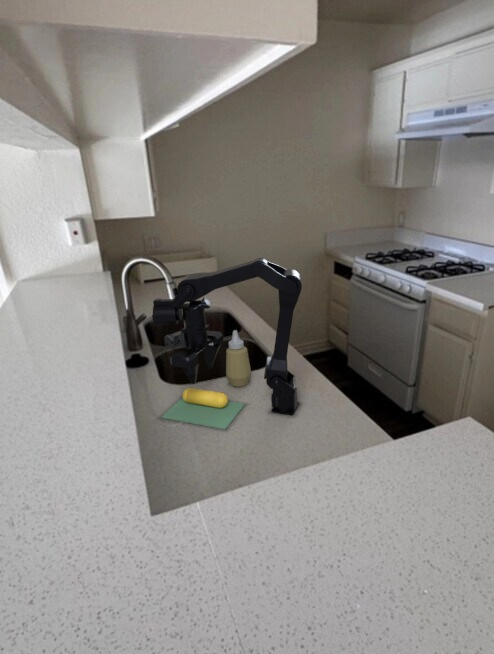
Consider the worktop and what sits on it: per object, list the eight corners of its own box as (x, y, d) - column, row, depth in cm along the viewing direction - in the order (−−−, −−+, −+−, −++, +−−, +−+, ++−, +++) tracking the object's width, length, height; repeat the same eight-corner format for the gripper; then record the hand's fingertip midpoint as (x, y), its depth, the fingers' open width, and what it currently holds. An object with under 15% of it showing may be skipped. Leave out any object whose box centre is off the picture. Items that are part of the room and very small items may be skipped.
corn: (231, 404, 122) (230, 391, 120) (224, 412, 118) (223, 398, 117) (188, 397, 127) (186, 384, 125) (180, 404, 123) (178, 391, 121)
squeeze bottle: (253, 377, 138) (250, 326, 130) (250, 389, 131) (246, 336, 123) (229, 376, 139) (224, 326, 131) (224, 388, 131) (219, 336, 124)
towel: (245, 404, 122) (244, 403, 122) (225, 429, 111) (225, 428, 111) (185, 395, 129) (185, 394, 129) (161, 417, 118) (161, 416, 117)
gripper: (187, 310, 120) (193, 358, 127) (148, 333, 105) (157, 387, 111) (221, 313, 117) (226, 363, 123) (186, 337, 101) (194, 393, 107)
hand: (201, 375), depth 116 cm, fingers open, 9 cm apart
